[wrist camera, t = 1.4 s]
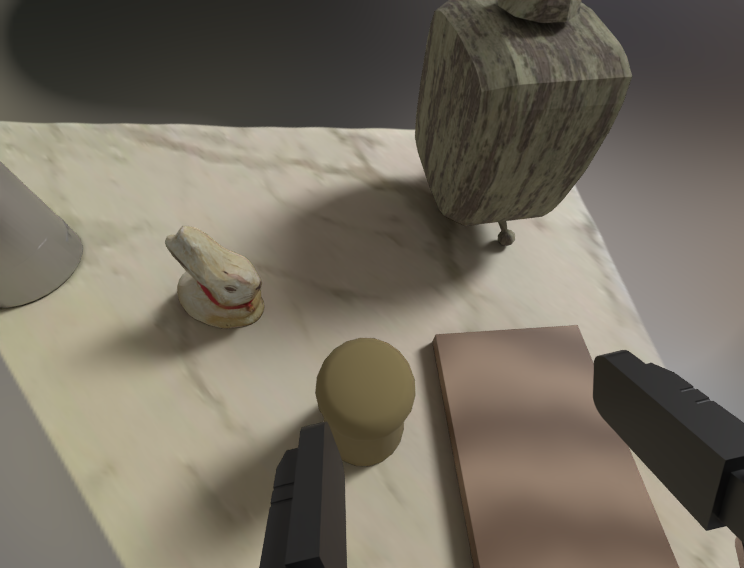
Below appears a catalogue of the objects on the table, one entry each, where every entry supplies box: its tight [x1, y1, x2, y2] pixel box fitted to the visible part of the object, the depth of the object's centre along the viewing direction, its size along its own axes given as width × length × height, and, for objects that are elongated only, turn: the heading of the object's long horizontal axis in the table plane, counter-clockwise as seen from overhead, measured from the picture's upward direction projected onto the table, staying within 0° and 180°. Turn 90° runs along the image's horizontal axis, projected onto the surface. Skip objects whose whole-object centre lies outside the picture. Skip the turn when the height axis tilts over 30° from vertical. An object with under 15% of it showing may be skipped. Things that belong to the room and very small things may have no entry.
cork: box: [315, 338, 415, 466], centre depth 22 cm, size 6×6×11 cm
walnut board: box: [433, 325, 679, 568], centre depth 26 cm, size 16×12×2 cm
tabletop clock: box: [415, 0, 632, 246], centre depth 28 cm, size 14×9×25 cm, turn 10°
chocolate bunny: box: [165, 226, 264, 329], centre depth 27 cm, size 6×8×10 cm
